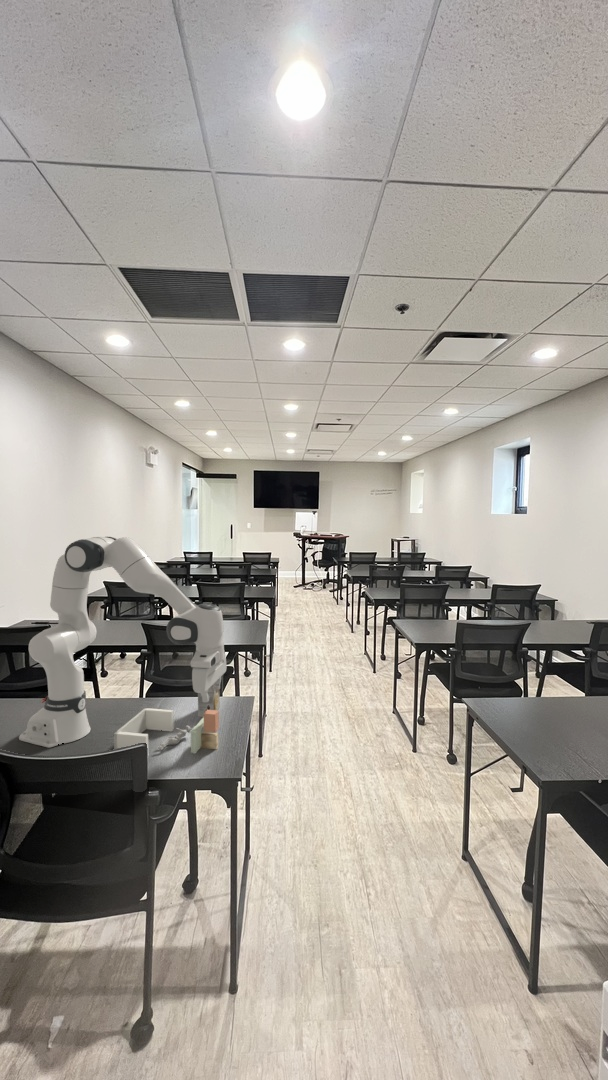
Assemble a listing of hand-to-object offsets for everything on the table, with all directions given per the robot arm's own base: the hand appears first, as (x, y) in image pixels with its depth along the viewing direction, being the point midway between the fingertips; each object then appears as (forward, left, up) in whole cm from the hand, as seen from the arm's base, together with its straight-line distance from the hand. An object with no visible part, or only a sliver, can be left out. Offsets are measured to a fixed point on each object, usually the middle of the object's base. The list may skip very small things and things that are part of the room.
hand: (211, 695), depth 147 cm
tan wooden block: (-2, 0, -18) cm, 18 cm away
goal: (-24, 0, -18) cm, 30 cm away
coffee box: (-11, +25, -18) cm, 33 cm away
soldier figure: (-13, 0, -18) cm, 22 cm away
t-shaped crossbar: (-1, 0, -16) cm, 17 cm away
